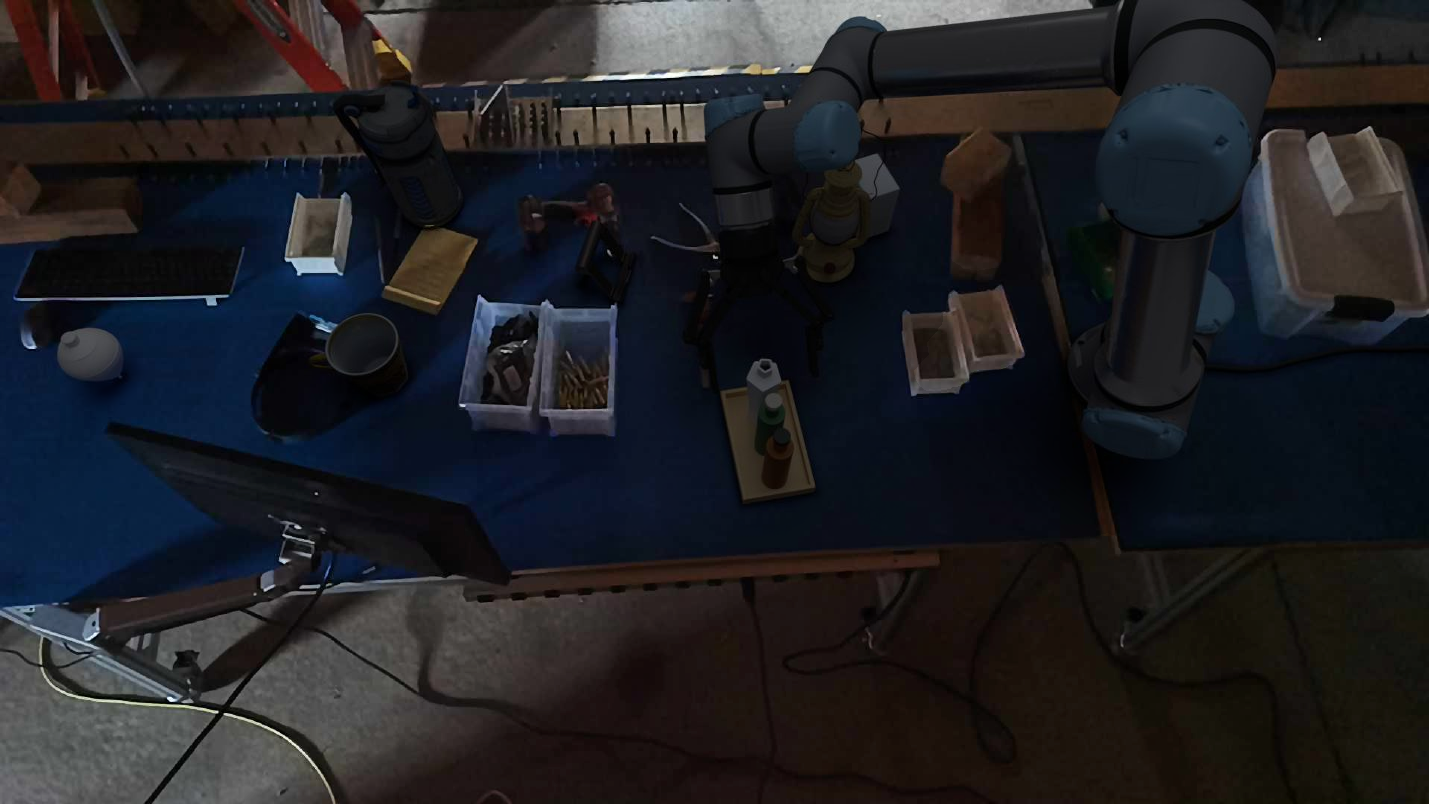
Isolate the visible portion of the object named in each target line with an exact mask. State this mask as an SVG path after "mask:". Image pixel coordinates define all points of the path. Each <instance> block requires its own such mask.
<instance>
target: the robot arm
mask: <svg viewBox="0 0 1429 804" xmlns="http://www.w3.org/2000/svg"><path fill="white" fill-rule="evenodd" d="M1266 19H1267V18H1265V17H1264V16H1263V15H1262V14H1261V13H1260V12H1259V10H1257V9H1256V8H1254V7H1253V6H1251V5H1250V4H1249V3H1248V2H1246V1H1244V0H1118V1H1117V2H1116V3H1115V4H1114V5H1109V6H1101V7H1100V6H1099V7H1092V8H1091V7H1090V8H1082V9H1081V8H1080V9H1073V10H1063V11H1054V12H1046V13H1036V14H1029V15H1027V14H1025V15H1019V16H1009V17H1000V18H990V19H981V20H974V21H964V22H955V23H946V24H938V25H928V26H920V27H919V26H918V27H911V28H901V29H891V30H888V29H887V28H886V27H885V26H884V25H883V24H882V23H881V22H880V21H878V20H876V19H871V18H867V16H863V15H858V16H853V17H850V18H848V19H845V20H844V21H842V23H841V24H839V26H838V27H837V29H836V30H835V31H834V33H833V34H831V35H830V36H829V38H828V39H827V41H826V42H825V44H824V46H823V48H822V50H821V52H820V53H819V54H818V56H817V58H816V59H815V62H814V63H813V65H812V66H811V68H810V70H809V71H808V73H807V75H806V76H805V78H804V79H803V81H802V83H801V84H800V85H799V87H798V88H797V90H796V92H795V93H794V95H793V96H792V98H791V99H790V101H789V102H788V104H787V105H785V106H781V107H774V108H766V105H765V102H764V97H763V96H762V95H761V94H760V93H750V94H742V95H735V96H729V97H721V98H713V99H710V100H708V101H707V102H706V103H705V104H704V107H703V124H704V126H703V127H704V136H703V138H704V141H705V147H706V152H707V158H708V166H709V170H710V178H711V185H712V195H713V203H714V212H715V221H716V225H718V226H719V227H721V228H719V230H718V232H717V238H718V246H719V252H720V267H719V268H718V269H715V268H714V269H707V268H705V267H701V268H699V269H698V272H697V273H698V275H697V277H698V286H697V290H696V292H695V295H694V297H693V301H692V303H691V307H690V309H689V313H688V315H687V319H686V321H685V324H684V328H683V331H682V333H681V339H682V341H683V343H684V345H688V346H690V345H691V346H696V348H697V356H698V362H699V366H700V368H701V370H702V371H707V370H708V375H709V381H710V388H711V391H712V393H713V395H719V394H720V388H719V379H718V371H717V365H716V356H715V349H714V345H713V344H712V342H711V341H710V340H711V339H712V337H713V335H714V334H715V333H716V331H717V329H718V328H719V326H720V325H721V323H722V322H723V320H724V319H725V317H726V315H727V314H728V312H729V311H730V310H731V308H732V307H733V306H734V304H735V303H736V302H737V300H738V298H741V299H743V300H749V299H752V298H754V297H761V298H763V297H768V296H769V295H770V294H771V293H773V292H775V293H776V294H778V296H780V297H781V298H782V299H783V300H784V301H785V302H786V303H787V304H789V306H791V307H792V309H794V310H795V311H796V312H797V313H798V314H800V315H801V316H802V317H803V318H804V319H805V320H806V321H807V322H808V323H809V324H810V325H804V335H805V345H806V346H805V347H806V356H807V366H808V373H809V374H810V375H811V376H812V377H813V378H814V379H815V378H820V371H819V370H820V369H819V360H818V352H822V351H823V350H824V348H825V345H824V333H823V329H824V328H825V325H826V324H828V323H831V322H834V321H835V320H836V314H835V312H834V311H833V309H832V308H831V306H830V304H829V303H828V301H827V300H826V298H825V297H824V295H823V294H822V292H821V290H820V289H819V287H818V286H817V284H816V283H815V280H813V279H812V278H811V276H810V275H809V273H808V271H807V266H806V261H805V258H804V257H803V256H801V255H800V254H798V252H796V253H793V255H792V256H790V257H786V258H782V257H781V253H780V244H779V235H778V226H777V224H776V223H775V222H773V220H774V219H775V218H776V217H777V216H776V206H775V199H774V190H773V189H774V188H773V178H772V177H773V176H772V175H784V174H807V173H808V174H810V173H811V174H821V173H824V172H825V171H828V170H836V169H842V168H845V167H847V166H848V165H849V164H851V163H852V162H853V161H854V160H856V158H857V155H858V153H859V143H860V142H861V140H862V130H861V127H862V126H861V127H860V124H861V122H860V119H859V115H858V113H859V112H860V110H861V108H862V106H863V105H864V103H865V102H866V101H873V100H874V101H875V100H887V99H906V98H921V97H940V96H941V97H943V96H959V95H977V94H995V93H996V94H997V93H1010V92H1011V93H1013V92H1014V93H1015V92H1030V91H1031V92H1032V91H1033V92H1035V91H1045V90H1046V91H1050V90H1052V91H1053V90H1066V89H1082V88H1083V89H1085V88H1086V89H1087V88H1103V87H1107V88H1108V89H1109V90H1111V92H1113V94H1114V95H1115V96H1117V97H1120V99H1119V101H1118V102H1117V106H1116V108H1115V110H1114V113H1113V115H1112V118H1111V120H1110V122H1109V124H1108V125H1107V127H1106V128H1105V130H1104V133H1103V136H1102V138H1101V140H1100V142H1099V144H1098V149H1097V153H1096V159H1095V160H1096V161H1095V167H1094V183H1095V185H1094V186H1095V189H1096V192H1097V195H1098V198H1099V200H1100V202H1101V203H1102V205H1103V206H1104V208H1105V210H1106V212H1107V215H1108V216H1109V217H1110V219H1111V220H1112V222H1114V224H1116V226H1118V238H1117V251H1116V261H1115V262H1116V263H1115V273H1114V284H1113V297H1112V306H1111V307H1112V308H1111V316H1110V317H1109V318H1108V319H1107V320H1106V321H1104V322H1102V323H1100V324H1098V325H1095V326H1094V327H1092V328H1090V329H1087V330H1086V331H1085V332H1083V333H1081V335H1079V336H1078V337H1077V338H1076V340H1075V341H1074V342H1073V344H1072V345H1071V346H1072V347H1071V346H1070V348H1071V349H1070V348H1069V349H1068V350H1067V351H1068V352H1067V354H1066V356H1065V360H1064V361H1065V362H1064V372H1065V377H1066V380H1067V383H1068V385H1069V387H1070V389H1071V390H1072V392H1073V393H1074V395H1075V396H1076V397H1077V398H1078V400H1079V401H1080V402H1082V404H1083V405H1085V406H1086V408H1084V409H1083V411H1082V413H1083V417H1082V421H1081V427H1082V430H1083V433H1084V434H1085V435H1086V436H1087V438H1088V439H1089V440H1091V441H1092V442H1093V443H1094V444H1096V445H1098V446H1100V447H1102V448H1103V449H1106V450H1108V451H1110V452H1113V453H1115V454H1118V455H1121V456H1126V457H1129V458H1133V459H1141V460H1162V459H1167V458H1170V457H1172V456H1174V455H1176V454H1178V453H1179V451H1180V450H1181V449H1182V446H1183V444H1184V441H1185V440H1186V438H1188V432H1187V431H1188V428H1189V424H1190V421H1191V417H1192V414H1193V411H1194V408H1195V404H1196V401H1197V397H1198V393H1199V390H1200V387H1201V384H1202V380H1203V377H1204V374H1205V370H1215V371H1217V370H1218V371H1228V372H1245V373H1246V372H1247V373H1248V372H1249V373H1250V372H1262V371H1263V372H1264V371H1270V370H1276V369H1278V368H1283V367H1286V366H1289V365H1294V364H1297V363H1301V362H1305V361H1309V360H1314V359H1318V358H1319V359H1320V358H1323V357H1326V356H1332V355H1336V354H1343V353H1349V352H1350V353H1351V352H1368V351H1371V352H1372V351H1373V352H1375V351H1376V352H1378V351H1379V352H1408V351H1428V352H1429V344H1410V345H1354V346H1343V347H1337V348H1331V349H1328V350H1323V351H1318V352H1315V353H1311V354H1306V355H1301V356H1297V357H1293V358H1290V359H1286V360H1281V361H1279V362H1275V363H1271V364H1264V365H1256V366H1255V365H1253V366H1240V365H1239V366H1238V365H1226V364H1214V363H1207V362H1208V360H1209V355H1210V352H1211V349H1212V345H1213V343H1214V341H1215V339H1216V337H1217V336H1218V334H1220V333H1222V332H1224V331H1225V330H1226V329H1227V328H1228V326H1229V324H1230V323H1231V321H1232V319H1233V317H1234V316H1235V310H1236V304H1235V299H1234V297H1233V294H1232V292H1231V291H1230V289H1229V288H1228V286H1226V285H1225V284H1224V283H1223V280H1222V279H1221V278H1220V277H1218V276H1217V274H1215V273H1213V272H1212V271H1210V270H1209V267H1210V266H1209V265H1210V261H1211V256H1212V251H1213V248H1214V242H1215V237H1216V232H1217V230H1219V229H1220V228H1223V226H1225V225H1226V224H1228V223H1229V221H1230V220H1232V218H1233V217H1234V216H1235V215H1236V214H1237V212H1238V211H1239V208H1240V206H1241V203H1242V199H1243V195H1244V191H1245V186H1246V182H1247V178H1248V175H1249V171H1250V168H1251V163H1252V157H1253V152H1254V148H1255V145H1256V141H1257V137H1258V134H1259V130H1260V126H1261V123H1262V120H1263V117H1264V113H1265V109H1266V107H1267V103H1268V100H1269V96H1270V93H1271V90H1272V86H1273V84H1274V81H1275V78H1276V76H1277V70H1278V66H1279V51H1278V49H1279V48H1278V42H1277V39H1276V35H1275V32H1274V30H1273V27H1272V26H1271V25H1270V23H1269V22H1268V20H1266ZM785 269H788V270H789V272H791V273H792V274H795V275H796V277H797V279H798V280H799V281H800V283H801V284H802V286H803V288H804V289H805V291H806V292H807V294H808V296H809V298H810V299H811V300H812V302H813V303H814V305H815V306H816V309H818V311H819V313H818V314H815V313H814V312H812V311H811V309H810V308H808V307H807V306H806V305H805V304H804V303H803V302H801V300H799V299H798V298H797V296H795V295H794V294H793V293H792V292H791V291H789V289H788V288H786V286H784V284H782V283H781V282H780V279H781V277H782V275H783V273H784V272H785ZM718 279H720V280H721V281H722V282H723V283H724V284H725V285H726V288H725V289H724V291H723V292H722V294H721V297H720V298H719V300H718V301H717V303H716V305H715V306H714V307H713V309H712V311H711V312H710V314H709V316H708V318H707V319H706V320H705V322H704V323H703V325H702V327H701V329H700V330H699V331H698V333H697V330H698V327H699V324H700V322H701V318H702V315H703V312H704V310H705V306H706V304H707V301H708V298H709V294H710V289H711V287H714V286H715V285H716V282H717V280H718Z"/></svg>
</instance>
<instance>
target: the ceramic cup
mask: <svg viewBox="0 0 1429 804" xmlns="http://www.w3.org/2000/svg"><path fill="white" fill-rule="evenodd" d="M324 352H325V353H317V354H314V355H312V356H311V357H310V358H309V359H308V367H310V369H313V370H318V371H329V372H335V373H338V374H339V375H341V376H343V377H344V378H346V379H347V380H349V381H351V382H354V383H356V384H357V385H358V386H359V387H361V388H362V389H363V390H365V391H367V392H368V393H370V394H372V395H374V396H376V397H378V398H381V397H385V396H389V395H393V394H397V393H398V392H399V391H400V390H401V389H402V387H403V386H404V385H405V384H406V382H407V381H408V380H409V373H408V369H407V363H406V360H405V356H404V353H403V347H402V342H401V338H400V336H399V332H398V330H397V327H396V325H394V323H393V322H392V321H391V320H390V319H388V318H387V317H385V316H383V315H380V314H378V313H371V312H369V313H359V314H355V315H351V316H350V317H347V318H345V319H344V320H342V321H341V322H339V323H338V324H336V326H335V327H334V328H333V329H332V330H331V332H330V333H329V334H328V337H327V339H326V341H325V346H324ZM315 363H328V366H327V365H317V364H315ZM329 365H330V366H329Z"/></svg>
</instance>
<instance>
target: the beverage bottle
mask: <svg viewBox="0 0 1429 804" xmlns="http://www.w3.org/2000/svg"><path fill="white" fill-rule="evenodd" d="M389 83H390V84H391V85H388V86H387V85H386V86H382V87H380V88H377V89H375V90H373V91H371V92H370V93H368V94H366V95H362V94H359V93H349V94H343V95H340V97H338V98H337V99H336V100H335V101H334V102H333V103H332V110H333V112H334V114H335V117H336V118H337V119H338V121H339V123H340V124H341V125H342V126H343V128H344V129H345V130H346V132H347V133H348V134H349V135H350V137H351V138H352V139H353V140H354V142H355V143H356V144H357V145H358V147H359V148H360V149H361V150H362V152H363V153H364V154H365V156H366V157H367V158H368V159H369V160H370V163H371V164H372V166H373V168H374V170H375V172H376V174H377V175H378V178H379V180H380V186H379V187H380V188H379V189H380V190H382V189H384V187H385V186H386V185H387V187H388V189H389V190H390V193H391V195H392V197H393V198H394V201H395V203H396V205H397V207H398V209H399V211H400V212H401V215H402V216H403V217H404V218H405V219H406V220H407V221H408V222H409V223H411V224H413V225H415V226H418V227H421V228H425V227H424V226H425V225H434V226H435V227H434V228H438V227H441V226H444V225H446V224H448V223H450V222H451V221H452V220H453V219H455V217H457V215H458V214H459V212H460V210H461V207H462V205H463V198H464V197H463V193H462V190H461V187H460V185H459V182H458V179H457V177H456V174H455V171H454V169H453V167H452V164H451V161H450V158H449V157H448V153H447V150H446V149H445V146H444V143H443V141H442V138H441V136H440V133H439V131H438V130H437V128H436V124H435V121H434V114H435V113H434V111H435V110H434V107H433V104H432V101H431V99H430V96H429V95H428V94H427V93H426V92H425V91H424V90H423V89H422V88H421V87H419V86H418V85H417V84H416V85H415V84H412V83H411V82H409V81H405V80H399V79H390V80H389ZM353 119H355V120H356V124H357V125H356V124H355V122H354V121H353Z"/></svg>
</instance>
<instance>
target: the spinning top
mask: <svg viewBox="0 0 1429 804" xmlns="http://www.w3.org/2000/svg"><path fill="white" fill-rule="evenodd" d="M56 353H57V354H56V358H57V362H58V365H59V367H60V369H62V371H63V372H64V373H65V374H67V375H68V376H70V377H71V378H73V379H76V380H80V381H84V382H85V381H86V382H103V381H109V380H113V379H116V378H118V379H120V380H121V379H123V376H122V375H121V374H122V371H123V366H124V353H123V348H122V345H121V343H120V341H119V340H118V339H117V338H116V337H115V335H113V334H112V333H110V332H109V331H106V330H104V329H101V328H97V327H84V328H77V329H75V330H73V331H67V332H64V333H63V334H62V335H61V337H60V342H59V344H58V347H57V352H56Z"/></svg>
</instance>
